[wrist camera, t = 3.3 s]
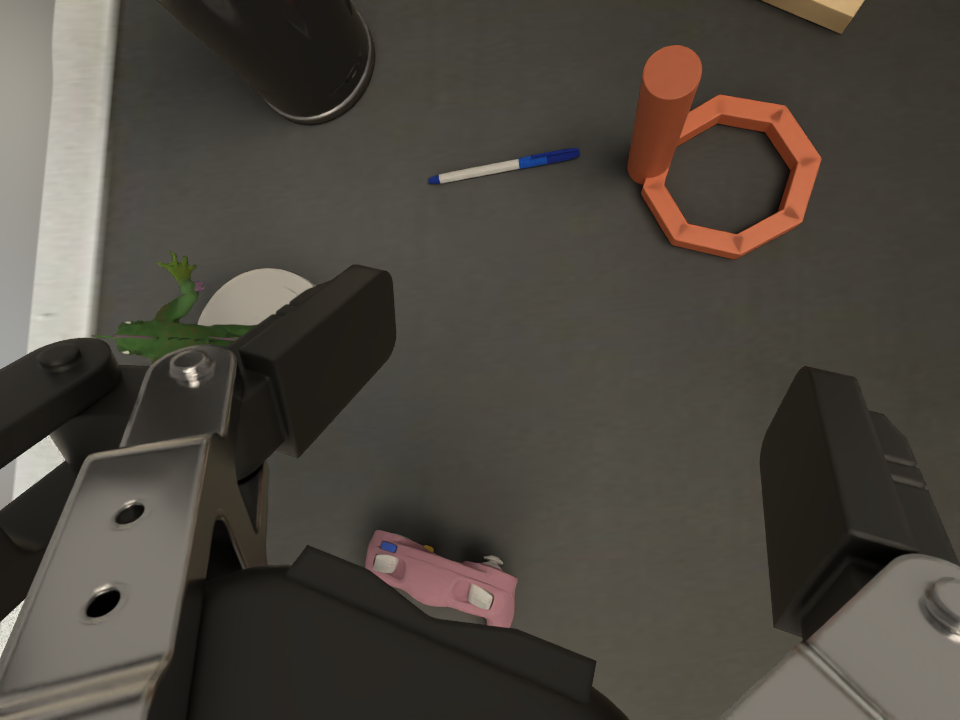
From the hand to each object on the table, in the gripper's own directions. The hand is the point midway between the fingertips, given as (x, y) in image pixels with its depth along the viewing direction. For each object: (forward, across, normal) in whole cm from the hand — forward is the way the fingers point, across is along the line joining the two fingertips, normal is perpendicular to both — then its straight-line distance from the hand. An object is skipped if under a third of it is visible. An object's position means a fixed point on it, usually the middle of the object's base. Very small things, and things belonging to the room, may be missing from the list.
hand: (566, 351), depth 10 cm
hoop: (+28, -4, +4) cm, 28 cm away
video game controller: (+9, +6, +26) cm, 29 cm away
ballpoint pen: (+26, +10, +5) cm, 28 cm away
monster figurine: (+15, +24, +17) cm, 33 cm away
